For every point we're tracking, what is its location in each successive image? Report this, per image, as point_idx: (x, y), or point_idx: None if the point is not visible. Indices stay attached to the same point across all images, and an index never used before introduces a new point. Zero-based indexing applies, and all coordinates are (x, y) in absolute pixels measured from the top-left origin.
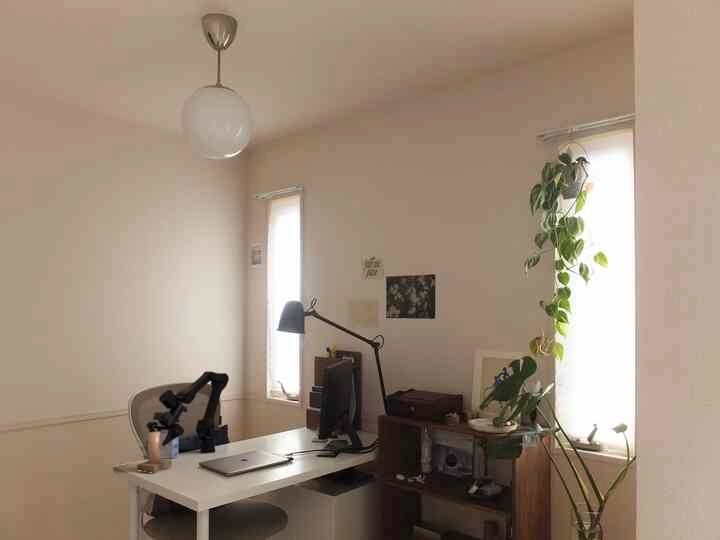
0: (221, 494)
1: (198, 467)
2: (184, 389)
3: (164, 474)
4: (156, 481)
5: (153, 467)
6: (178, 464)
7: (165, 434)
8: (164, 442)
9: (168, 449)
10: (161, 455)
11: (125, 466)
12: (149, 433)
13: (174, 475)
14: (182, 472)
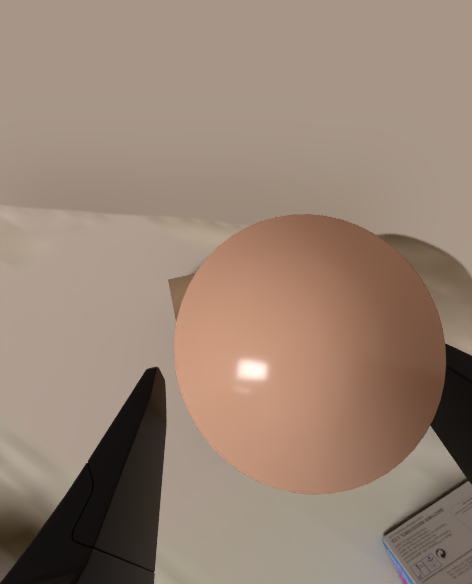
0: None
1: (51, 505)
2: None
3: (113, 308)
4: (43, 222)
5: (172, 280)
6: (225, 475)
7: None
8: (131, 399)
9: (457, 579)
10: (462, 509)
11: (446, 281)
12: (292, 221)
13: (46, 326)
14: (53, 384)
